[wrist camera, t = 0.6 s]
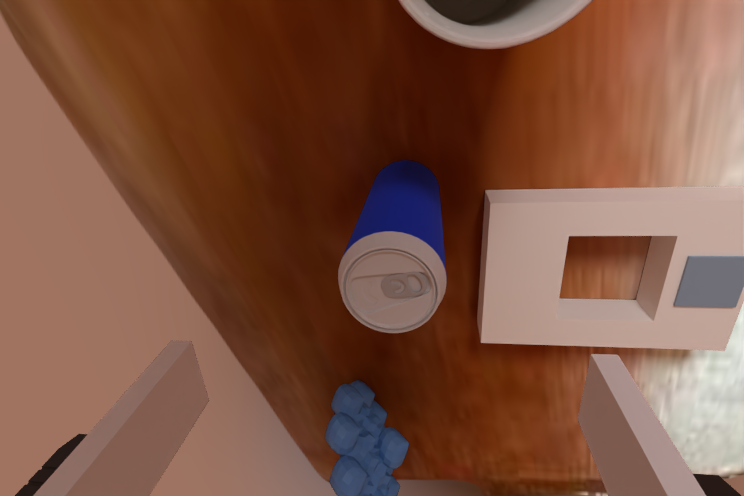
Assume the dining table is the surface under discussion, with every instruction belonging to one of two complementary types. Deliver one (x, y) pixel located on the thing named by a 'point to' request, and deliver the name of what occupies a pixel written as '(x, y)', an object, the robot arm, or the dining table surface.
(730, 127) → the dining table surface
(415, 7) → the mug
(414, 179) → the beverage can
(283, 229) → the dining table surface
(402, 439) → the grapes
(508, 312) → the socket board
